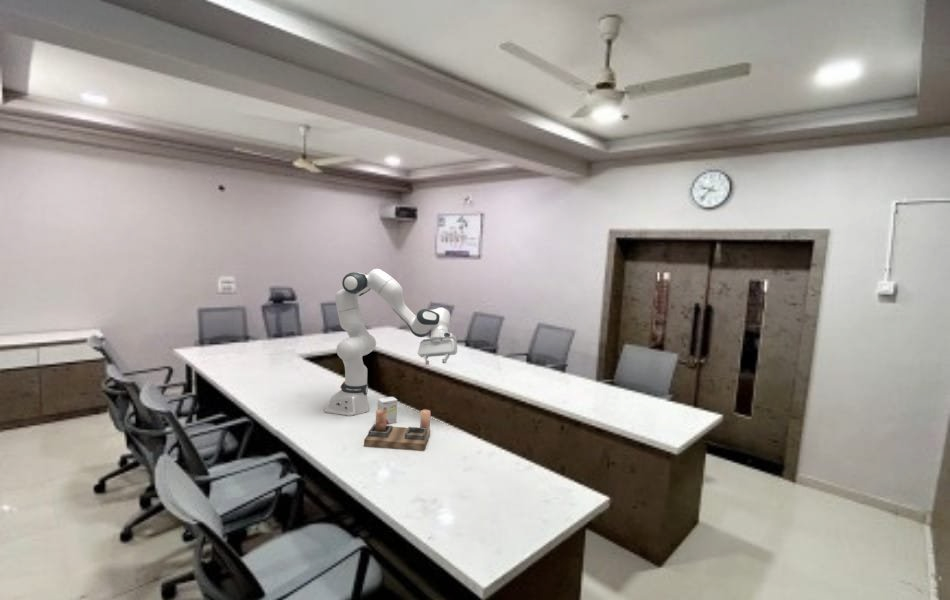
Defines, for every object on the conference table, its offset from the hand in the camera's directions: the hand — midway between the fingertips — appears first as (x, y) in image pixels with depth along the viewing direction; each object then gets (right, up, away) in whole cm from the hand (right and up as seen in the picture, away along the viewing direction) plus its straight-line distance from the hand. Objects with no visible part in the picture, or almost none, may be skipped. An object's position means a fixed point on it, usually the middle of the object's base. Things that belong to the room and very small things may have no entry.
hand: (435, 363), depth 219 cm
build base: (-15, -32, -18) cm, 40 cm away
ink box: (-24, -29, +2) cm, 38 cm away
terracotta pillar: (-4, -31, -7) cm, 32 cm away
